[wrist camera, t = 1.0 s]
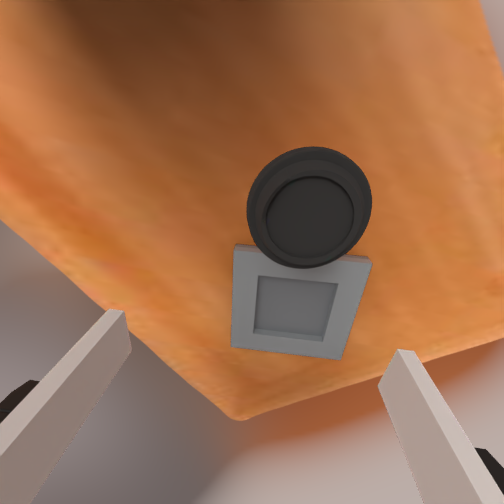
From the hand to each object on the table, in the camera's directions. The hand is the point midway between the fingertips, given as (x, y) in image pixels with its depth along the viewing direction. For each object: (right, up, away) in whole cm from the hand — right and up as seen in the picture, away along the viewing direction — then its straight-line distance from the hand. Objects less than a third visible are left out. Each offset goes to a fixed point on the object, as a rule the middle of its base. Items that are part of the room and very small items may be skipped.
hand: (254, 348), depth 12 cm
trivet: (+6, -3, +25) cm, 26 cm away
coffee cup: (+5, +13, +17) cm, 22 cm away
